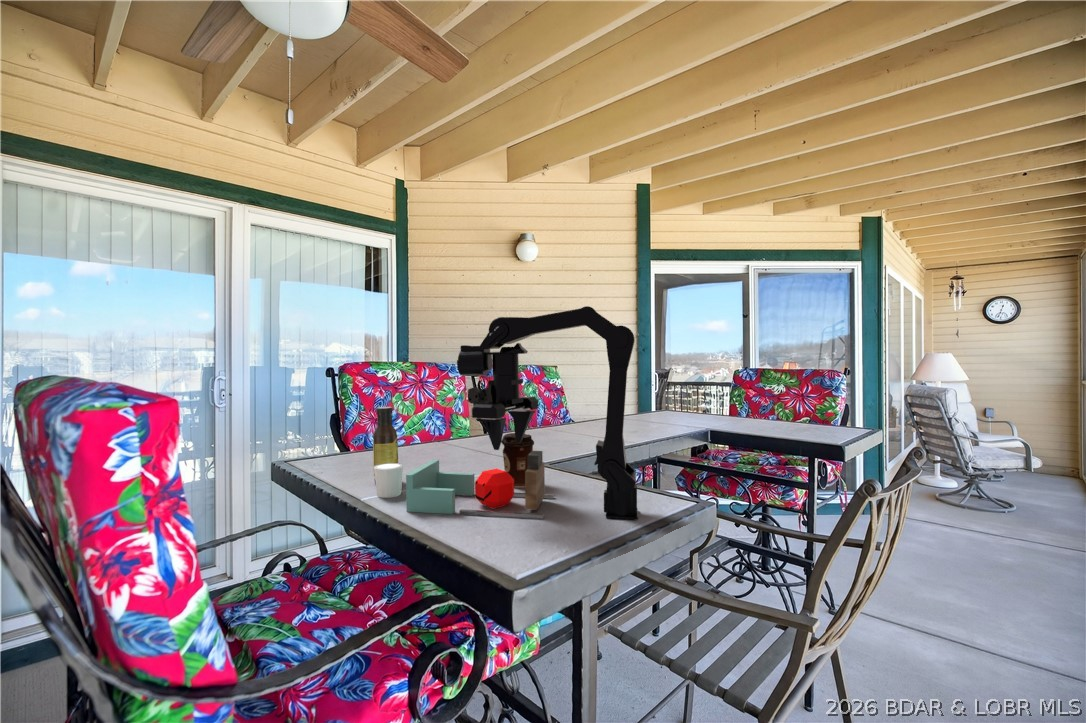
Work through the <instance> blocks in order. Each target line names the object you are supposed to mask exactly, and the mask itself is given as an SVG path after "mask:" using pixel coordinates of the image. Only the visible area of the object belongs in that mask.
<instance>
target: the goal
mask: <svg viewBox="0 0 1086 723" xmlns="http://www.w3.org/2000/svg"><path fill="white" fill-rule="evenodd" d="M475 481H476V480H475V473H472V472H449V471H440V459H432V460H430V461H428V462H427V463H425V464H423V465H421V466H419V467H418V468H416V469H414V470H412V471H411V472H409V473H406V475H405V496H406V503H405V504H406V512H407V513H408V512H411V513H426V514H442V515H443V514H444V515H445V514H446V515H453V514H454V513H456V496H470V497H473V496H475Z"/></svg>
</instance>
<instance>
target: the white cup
mask: <svg viewBox="0 0 1086 723" xmlns="http://www.w3.org/2000/svg"><path fill="white" fill-rule="evenodd" d="M374 472H375V476H374V479H375V480H374V482H375V481H376V483H375V489H376V496H377V497H378V498H383V499H386V498H387V499H388V498H395V497H399V496H400V495H401V494H402V486H403V476H404V475H403V472H404V464H402V463H399V462H398V463H385V464H380V465H376V466H374V465H373V473H374Z"/></svg>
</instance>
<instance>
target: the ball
mask: <svg viewBox="0 0 1086 723" xmlns="http://www.w3.org/2000/svg"><path fill="white" fill-rule="evenodd" d="M514 492H515V488H514V479H513V478H512V477H511V476H510V474H509V473H508V472H506V471H505V470H503V469H500V468H491V469H488V470H483V471H482V472H481V473H480V474H479V476H478V477H477V479H476V480H475V494H474V498H475V499H476V500H477V501H478V502H479V503H480V504H482V506H485V507H487V508H489V509H491V510H494V509H497V508H498V509H499V508H502V507H506V506H508V505H509V503H510V502H511V501H512V499H513V498H514V497H513V496H514Z"/></svg>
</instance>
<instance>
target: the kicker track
mask: <svg viewBox="0 0 1086 723" xmlns="http://www.w3.org/2000/svg"><path fill="white" fill-rule="evenodd" d="M513 498H524V499H525V492H516V491H514V496H513ZM543 499H545V500H547V499H550V500H553V499H555V494H554V493H545V496H544V498H543ZM458 512H459V515H461V516H462V515H465V516H480V517H496V518H497V517H499V518H515V519H517V518H519V519H531V520H532V519H535V520H537V519H538V520H543V519H544V517H545V516H544V515H545V514H544V513H539V512H538V513H537V512H536V513H535V512H518V511H517V512H516V511H504V510H503V511H502V510H501V511H497V510H485V509H484V510H482V509H481V510H480V509H466V508H465V509H459V510H458Z"/></svg>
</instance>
